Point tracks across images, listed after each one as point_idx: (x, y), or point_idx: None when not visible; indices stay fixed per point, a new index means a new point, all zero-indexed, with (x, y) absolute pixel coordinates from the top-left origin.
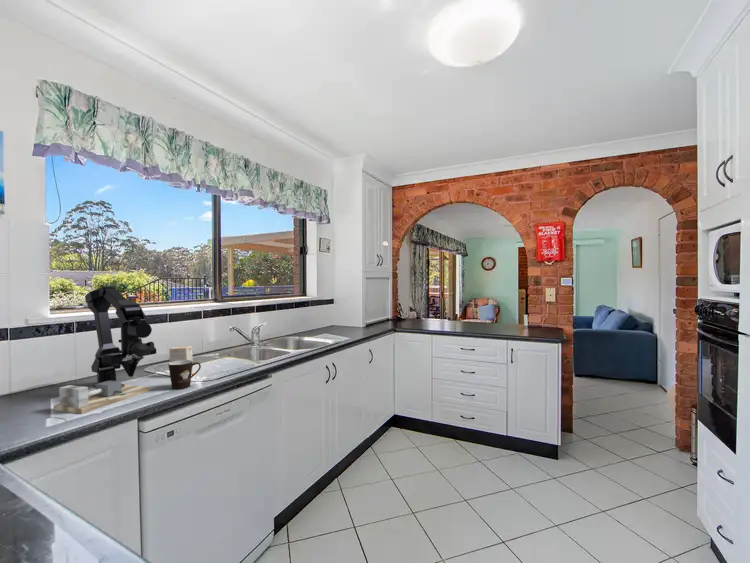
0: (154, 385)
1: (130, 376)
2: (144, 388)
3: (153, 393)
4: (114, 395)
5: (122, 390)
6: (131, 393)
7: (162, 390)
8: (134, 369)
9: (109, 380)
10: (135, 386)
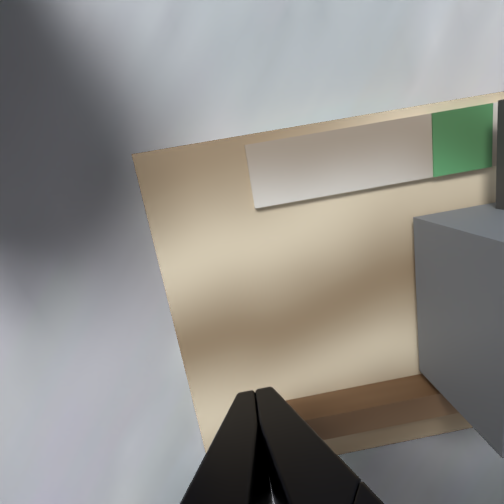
0: (6, 315)
1: (274, 397)
2: (196, 153)
3: (175, 8)
4: (487, 195)
5: (342, 304)
6: (366, 116)
7: (53, 23)
8: (219, 475)
9: (502, 453)
10: (197, 332)
